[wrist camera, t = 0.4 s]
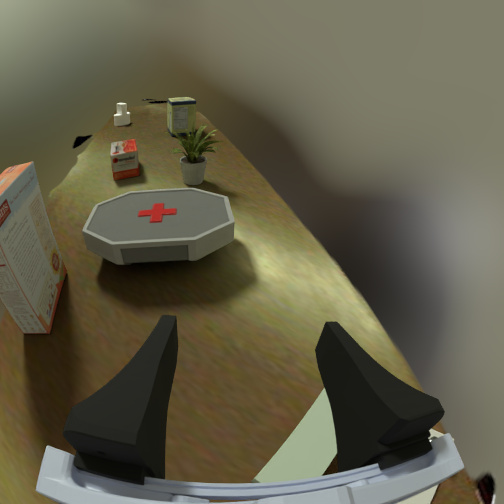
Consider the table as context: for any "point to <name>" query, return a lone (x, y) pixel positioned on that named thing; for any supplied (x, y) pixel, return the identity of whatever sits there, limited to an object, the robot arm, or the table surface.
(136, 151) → the medicine box
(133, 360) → the robot arm
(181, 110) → the protein box
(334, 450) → the pale green block
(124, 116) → the cylinder with rectangular tab
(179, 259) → the first aid kit
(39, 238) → the cracker box
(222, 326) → the table surface
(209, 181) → the table surface
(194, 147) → the house plant
